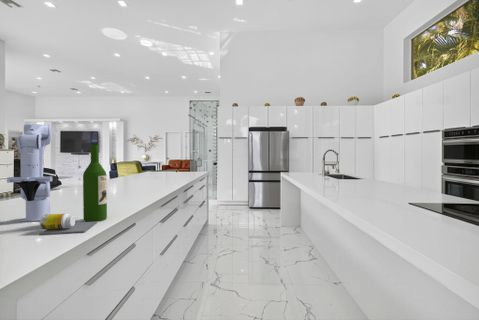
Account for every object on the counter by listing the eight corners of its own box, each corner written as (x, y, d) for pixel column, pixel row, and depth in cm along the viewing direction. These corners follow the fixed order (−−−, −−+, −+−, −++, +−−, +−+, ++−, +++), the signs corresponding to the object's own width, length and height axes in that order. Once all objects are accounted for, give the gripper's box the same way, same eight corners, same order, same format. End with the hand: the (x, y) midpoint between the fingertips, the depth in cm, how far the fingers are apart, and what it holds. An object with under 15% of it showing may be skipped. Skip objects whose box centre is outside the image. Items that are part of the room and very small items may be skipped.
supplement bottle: (36, 226, 94) (67, 225, 95) (42, 211, 97) (71, 210, 98) (44, 232, 99) (74, 230, 100) (49, 217, 102) (78, 217, 103)
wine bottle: (100, 222, 111) (99, 144, 110) (78, 222, 111) (77, 144, 110) (110, 217, 119) (110, 145, 119) (91, 217, 120) (90, 145, 119)
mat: (58, 224, 107) (58, 223, 107) (97, 222, 109) (97, 221, 109) (39, 235, 93) (39, 233, 93) (84, 232, 96) (84, 230, 96)
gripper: (1, 166, 97) (1, 203, 97) (45, 165, 100) (46, 201, 100) (13, 165, 104) (14, 200, 104) (54, 165, 107) (55, 198, 107)
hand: (30, 200), depth 103 cm, fingers closed
